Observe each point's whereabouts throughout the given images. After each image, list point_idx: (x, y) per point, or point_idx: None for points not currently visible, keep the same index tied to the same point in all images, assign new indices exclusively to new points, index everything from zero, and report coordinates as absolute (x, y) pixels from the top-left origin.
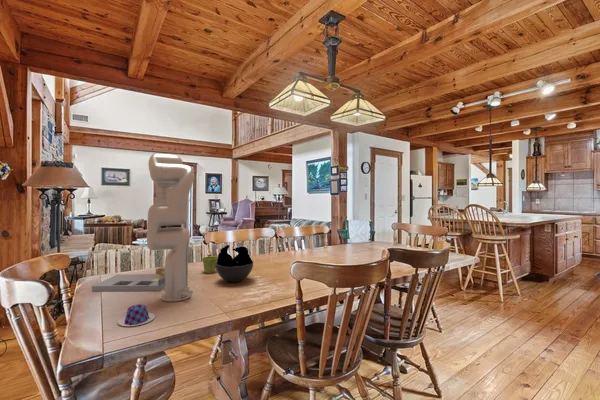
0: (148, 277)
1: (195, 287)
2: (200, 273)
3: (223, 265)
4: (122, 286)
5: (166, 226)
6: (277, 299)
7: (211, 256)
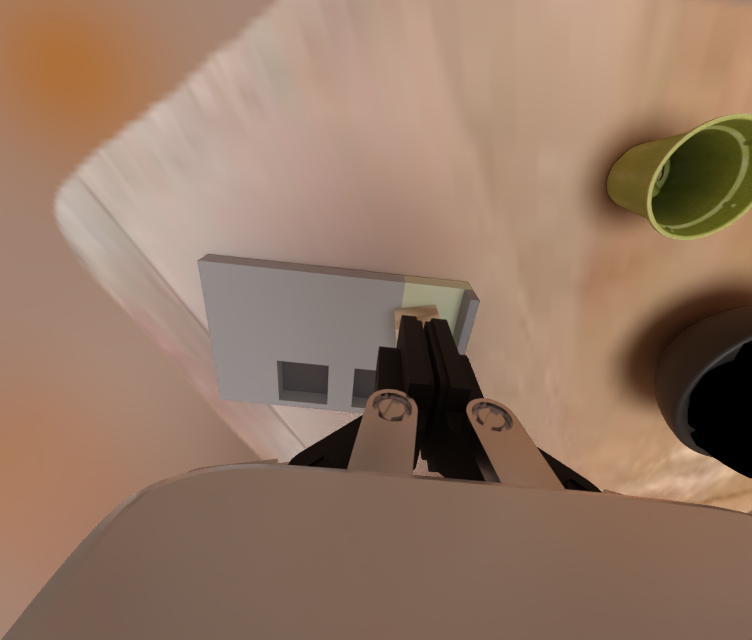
0: (363, 326)
1: (542, 391)
2: (581, 197)
3: (700, 447)
4: (318, 408)
5: (463, 359)
6: (736, 492)
7: (743, 116)
